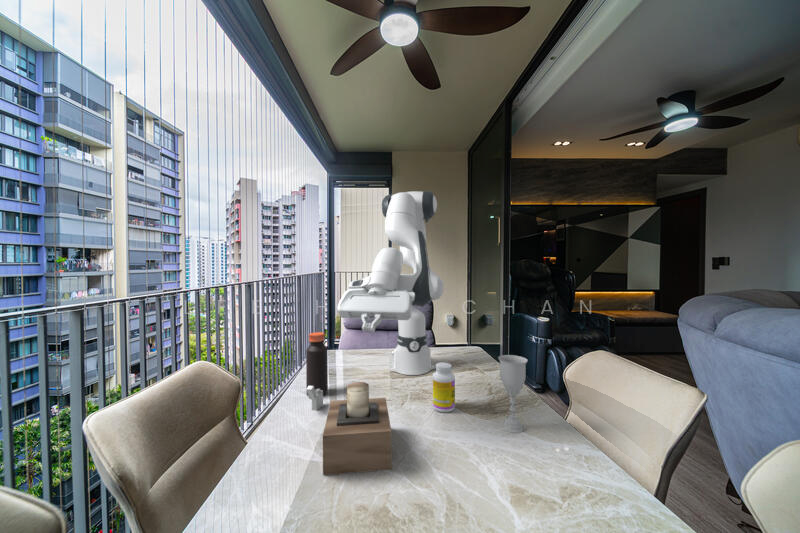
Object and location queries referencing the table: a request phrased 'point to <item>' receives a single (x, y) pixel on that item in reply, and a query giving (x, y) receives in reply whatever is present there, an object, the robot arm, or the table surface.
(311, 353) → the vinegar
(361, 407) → the peg
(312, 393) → the lighter
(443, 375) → the supplement bottle
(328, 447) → the block
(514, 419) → the chalice
